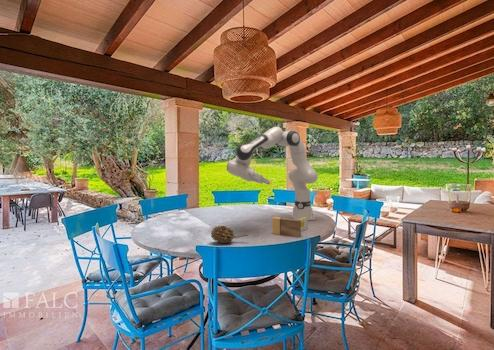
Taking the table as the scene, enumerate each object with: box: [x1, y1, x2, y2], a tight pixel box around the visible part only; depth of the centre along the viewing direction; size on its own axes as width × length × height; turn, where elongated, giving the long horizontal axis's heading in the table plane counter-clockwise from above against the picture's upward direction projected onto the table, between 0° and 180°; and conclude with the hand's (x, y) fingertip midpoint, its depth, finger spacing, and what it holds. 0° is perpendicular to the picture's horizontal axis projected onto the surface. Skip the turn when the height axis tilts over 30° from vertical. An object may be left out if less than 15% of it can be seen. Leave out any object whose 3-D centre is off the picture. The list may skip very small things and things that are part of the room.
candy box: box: [299, 217, 309, 233], centre depth 184 cm, size 16×2×8 cm, turn 141°
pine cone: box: [210, 225, 250, 244], centre depth 162 cm, size 22×10×10 cm, turn 96°
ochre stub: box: [271, 216, 283, 236], centre depth 179 cm, size 3×5×10 cm, turn 63°
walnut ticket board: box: [280, 217, 302, 238], centre depth 175 cm, size 4×12×10 cm, turn 63°
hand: (269, 182), depth 181 cm, fingers open, 8 cm apart
